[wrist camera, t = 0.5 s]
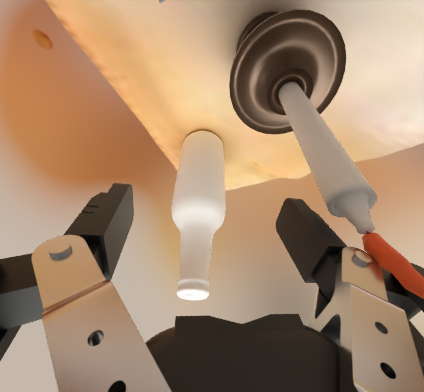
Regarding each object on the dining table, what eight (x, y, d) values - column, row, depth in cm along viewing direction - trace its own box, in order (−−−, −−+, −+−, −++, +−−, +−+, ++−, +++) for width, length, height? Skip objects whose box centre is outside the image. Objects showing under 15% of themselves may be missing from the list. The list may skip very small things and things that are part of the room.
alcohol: (177, 132, 41) (142, 287, 22) (219, 124, 40) (223, 284, 20) (189, 164, 48) (171, 305, 28) (226, 159, 46) (233, 303, 27)
